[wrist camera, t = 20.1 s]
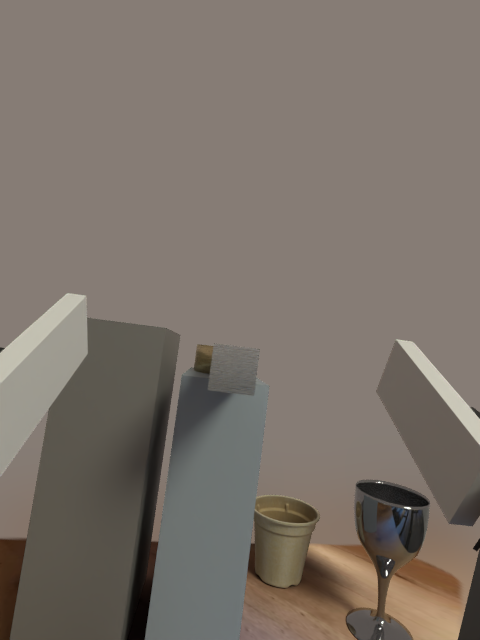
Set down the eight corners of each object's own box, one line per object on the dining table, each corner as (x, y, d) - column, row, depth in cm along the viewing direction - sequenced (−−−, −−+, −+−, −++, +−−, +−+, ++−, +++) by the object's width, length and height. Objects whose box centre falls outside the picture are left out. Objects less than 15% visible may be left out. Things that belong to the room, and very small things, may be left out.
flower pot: (238, 553, 54) (245, 491, 55) (300, 556, 55) (306, 496, 56) (248, 596, 45) (257, 521, 46) (323, 599, 46) (330, 526, 47)
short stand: (138, 685, 31) (181, 374, 34) (162, 577, 46) (191, 367, 49) (232, 692, 32) (269, 385, 34) (226, 583, 47) (252, 375, 49)
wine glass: (332, 630, 41) (346, 489, 42) (354, 596, 47) (365, 475, 49) (411, 673, 36) (424, 513, 38) (423, 629, 43) (434, 494, 44)
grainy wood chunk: (176, 386, 24) (182, 339, 24) (195, 368, 47) (198, 344, 47) (284, 399, 24) (290, 353, 24) (250, 375, 47) (253, 351, 47)
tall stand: (3, 675, 31) (64, 314, 33) (71, 569, 46) (110, 325, 48) (114, 683, 31) (166, 328, 34) (146, 575, 46) (180, 334, 49)
